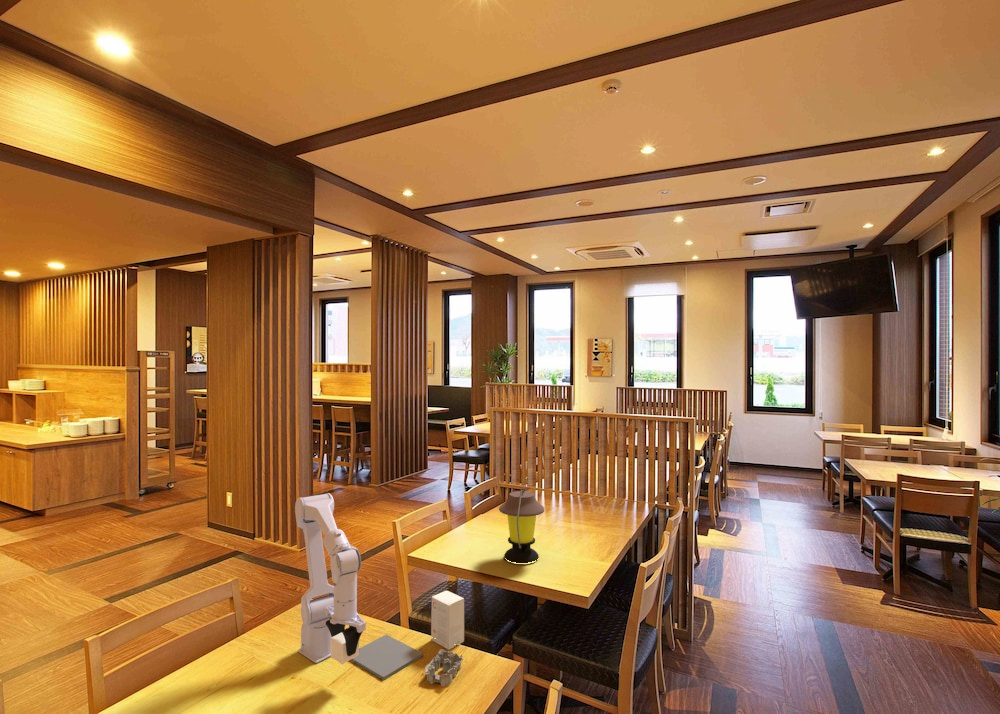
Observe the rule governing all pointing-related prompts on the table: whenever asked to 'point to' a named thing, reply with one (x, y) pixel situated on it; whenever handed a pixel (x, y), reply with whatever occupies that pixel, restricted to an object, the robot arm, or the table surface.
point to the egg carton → (447, 661)
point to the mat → (386, 656)
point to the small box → (447, 619)
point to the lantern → (521, 525)
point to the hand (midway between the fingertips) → (344, 650)
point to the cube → (341, 649)
